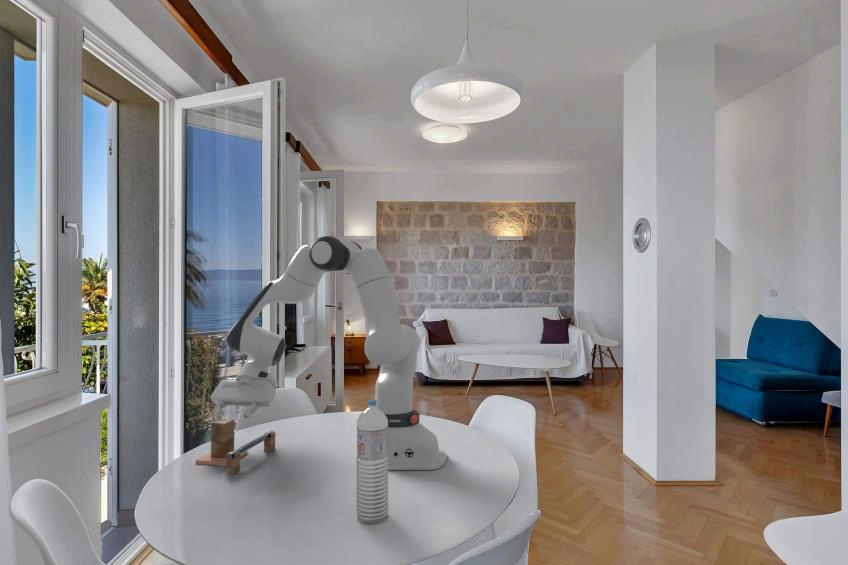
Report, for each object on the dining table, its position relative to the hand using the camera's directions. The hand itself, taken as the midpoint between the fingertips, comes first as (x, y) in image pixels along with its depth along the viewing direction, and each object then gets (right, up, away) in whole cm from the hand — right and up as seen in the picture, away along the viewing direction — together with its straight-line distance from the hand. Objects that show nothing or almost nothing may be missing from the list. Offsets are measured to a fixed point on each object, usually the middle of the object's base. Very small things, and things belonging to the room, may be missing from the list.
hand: (232, 416), depth 137 cm
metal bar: (+9, -6, -7) cm, 13 cm away
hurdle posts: (+9, -11, -7) cm, 16 cm away
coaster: (-1, -11, -5) cm, 12 cm away
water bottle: (+48, -10, -41) cm, 63 cm away
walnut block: (-1, -10, -5) cm, 11 cm away
